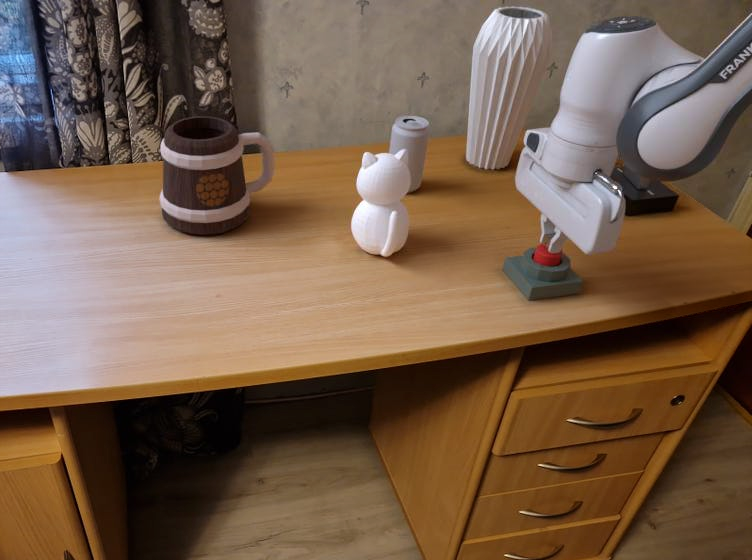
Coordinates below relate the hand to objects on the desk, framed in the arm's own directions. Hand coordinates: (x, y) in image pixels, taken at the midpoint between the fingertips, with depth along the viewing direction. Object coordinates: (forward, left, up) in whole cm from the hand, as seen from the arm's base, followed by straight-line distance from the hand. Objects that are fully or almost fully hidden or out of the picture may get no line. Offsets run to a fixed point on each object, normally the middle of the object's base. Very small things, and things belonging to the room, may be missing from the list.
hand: (549, 247), depth 96 cm
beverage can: (+33, +9, -6) cm, 35 cm away
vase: (+40, -11, -6) cm, 42 cm away
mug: (+30, +43, -6) cm, 53 cm away
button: (0, 0, -2) cm, 2 cm away
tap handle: (+21, -29, -3) cm, 36 cm away
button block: (0, 0, -6) cm, 6 cm away
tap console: (+21, -29, -6) cm, 36 cm away
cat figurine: (+14, +20, -6) cm, 25 cm away
